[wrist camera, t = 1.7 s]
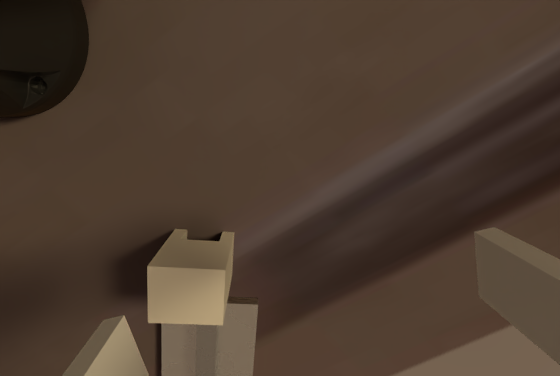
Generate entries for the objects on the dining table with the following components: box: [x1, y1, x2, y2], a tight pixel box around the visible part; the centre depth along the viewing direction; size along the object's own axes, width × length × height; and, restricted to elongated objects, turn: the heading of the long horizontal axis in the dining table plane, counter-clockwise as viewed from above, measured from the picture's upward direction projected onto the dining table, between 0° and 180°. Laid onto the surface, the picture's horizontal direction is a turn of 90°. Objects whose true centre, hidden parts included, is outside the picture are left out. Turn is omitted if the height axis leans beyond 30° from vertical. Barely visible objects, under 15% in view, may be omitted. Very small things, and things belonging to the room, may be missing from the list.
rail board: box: [161, 297, 258, 376], centre depth 34 cm, size 10×14×3 cm
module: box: [147, 229, 234, 325], centre depth 29 cm, size 6×5×8 cm
